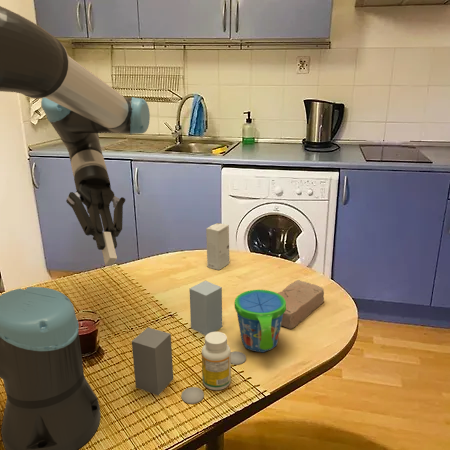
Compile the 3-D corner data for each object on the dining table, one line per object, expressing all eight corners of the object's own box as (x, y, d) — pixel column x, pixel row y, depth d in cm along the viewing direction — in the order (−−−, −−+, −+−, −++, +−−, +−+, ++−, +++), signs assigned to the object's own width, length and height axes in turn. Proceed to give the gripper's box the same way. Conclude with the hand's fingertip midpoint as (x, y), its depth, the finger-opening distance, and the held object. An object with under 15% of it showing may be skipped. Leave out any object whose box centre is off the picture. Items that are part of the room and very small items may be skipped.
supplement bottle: (225, 394, 83) (224, 348, 79) (197, 387, 84) (196, 342, 81) (234, 375, 87) (234, 332, 84) (208, 369, 89) (207, 327, 86)
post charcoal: (158, 395, 82) (154, 348, 79) (135, 387, 84) (131, 341, 81) (173, 379, 87) (170, 333, 83) (151, 371, 89) (148, 327, 85)
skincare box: (219, 270, 131) (218, 231, 127) (206, 267, 133) (205, 228, 129) (230, 263, 136) (230, 224, 132) (217, 259, 138) (217, 222, 134)
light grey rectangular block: (207, 336, 100) (206, 295, 96) (190, 328, 103) (189, 288, 100) (222, 326, 103) (221, 287, 100) (206, 319, 107) (205, 280, 103)
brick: (295, 292, 119) (296, 276, 117) (325, 302, 114) (326, 285, 112) (259, 320, 107) (260, 302, 105) (291, 332, 102) (291, 314, 100)
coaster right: (238, 367, 90) (238, 366, 90) (222, 359, 92) (222, 358, 92) (249, 357, 93) (249, 355, 93) (233, 350, 95) (233, 349, 95)
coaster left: (194, 407, 79) (193, 405, 79) (176, 397, 82) (176, 396, 82) (208, 394, 82) (208, 392, 82) (191, 385, 85) (191, 384, 85)
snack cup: (234, 323, 105) (234, 283, 101) (280, 323, 105) (281, 283, 101) (234, 366, 90) (234, 321, 87) (288, 366, 90) (290, 321, 86)
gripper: (112, 188, 110) (133, 271, 98) (57, 182, 103) (73, 271, 91) (123, 167, 106) (147, 252, 94) (66, 159, 98) (85, 250, 86)
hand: (111, 261), depth 92 cm, fingers closed
